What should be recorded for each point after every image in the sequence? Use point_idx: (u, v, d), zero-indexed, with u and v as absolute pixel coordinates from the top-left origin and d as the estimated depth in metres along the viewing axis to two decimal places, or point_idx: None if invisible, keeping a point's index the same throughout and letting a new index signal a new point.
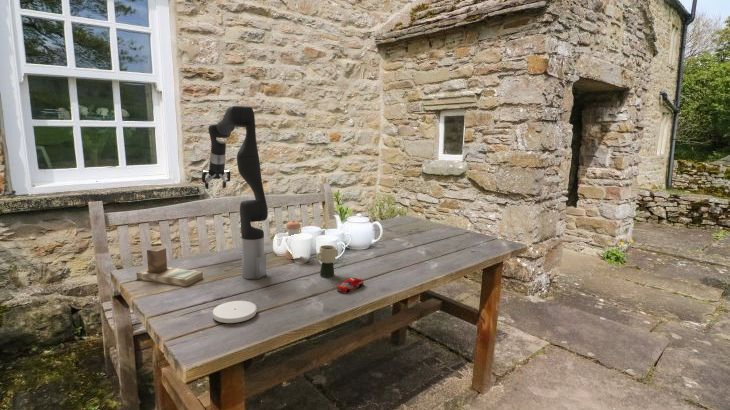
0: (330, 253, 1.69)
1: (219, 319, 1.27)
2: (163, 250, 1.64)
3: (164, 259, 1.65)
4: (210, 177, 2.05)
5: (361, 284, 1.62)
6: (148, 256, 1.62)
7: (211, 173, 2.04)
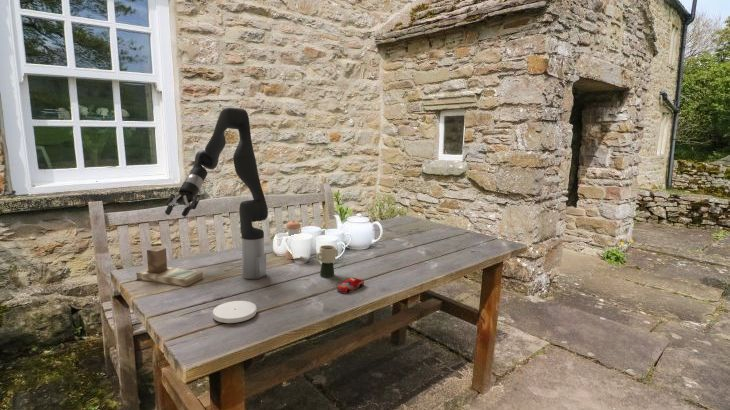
0: (330, 253, 1.69)
1: (219, 319, 1.27)
2: (163, 250, 1.64)
3: (164, 259, 1.65)
4: (174, 199, 1.76)
5: (361, 284, 1.62)
6: (148, 256, 1.62)
7: (178, 196, 1.77)
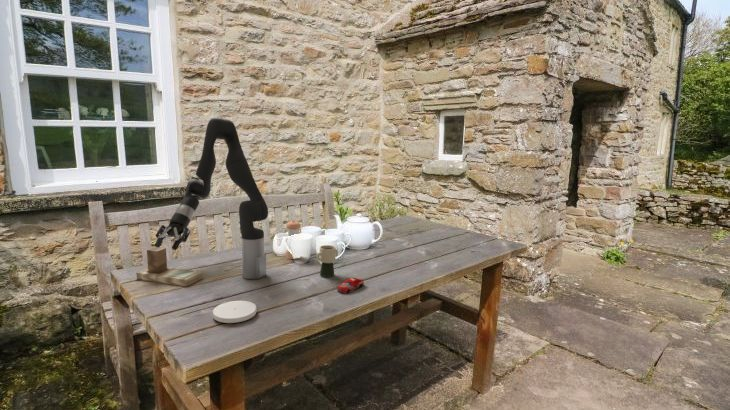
0: (330, 253, 1.69)
1: (219, 319, 1.27)
2: (163, 250, 1.64)
3: (164, 259, 1.65)
4: (164, 231, 1.72)
5: (361, 284, 1.62)
6: (148, 256, 1.62)
7: (168, 227, 1.73)
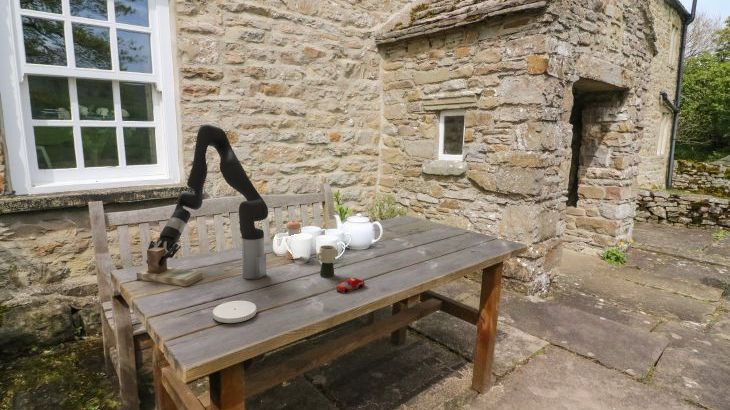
0: (330, 253, 1.69)
1: (219, 319, 1.27)
2: (163, 250, 1.64)
3: None
4: (155, 246, 1.66)
5: (361, 285, 1.61)
6: (148, 256, 1.62)
7: (158, 242, 1.68)
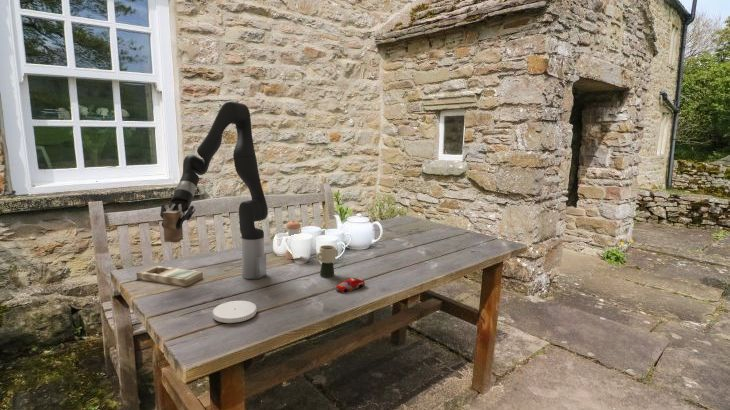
0: (330, 253, 1.69)
1: (219, 319, 1.27)
2: (179, 212, 1.59)
3: None
4: None
5: (361, 285, 1.61)
6: (164, 219, 1.56)
7: (170, 206, 1.62)
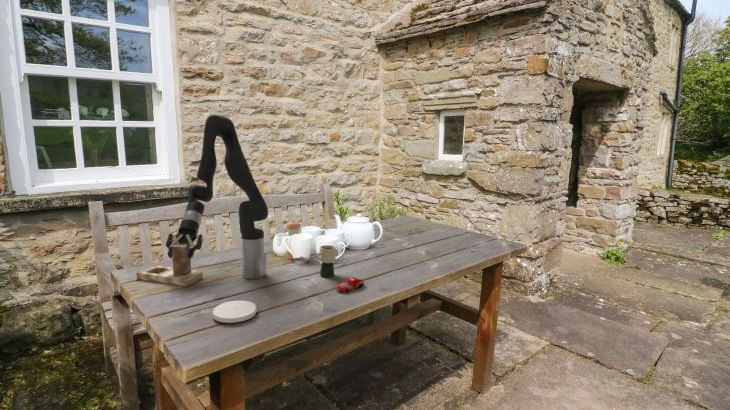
0: (330, 253, 1.69)
1: (219, 319, 1.27)
2: (188, 246, 1.61)
3: None
4: None
5: (361, 284, 1.61)
6: (174, 253, 1.58)
7: (178, 235, 1.64)
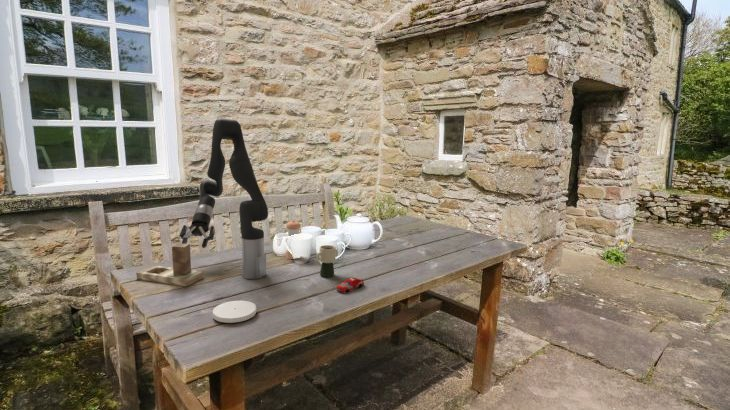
0: (330, 253, 1.69)
1: (219, 319, 1.27)
2: (188, 246, 1.61)
3: (189, 255, 1.62)
4: (189, 230, 1.75)
5: (361, 284, 1.61)
6: (174, 253, 1.58)
7: (191, 227, 1.77)
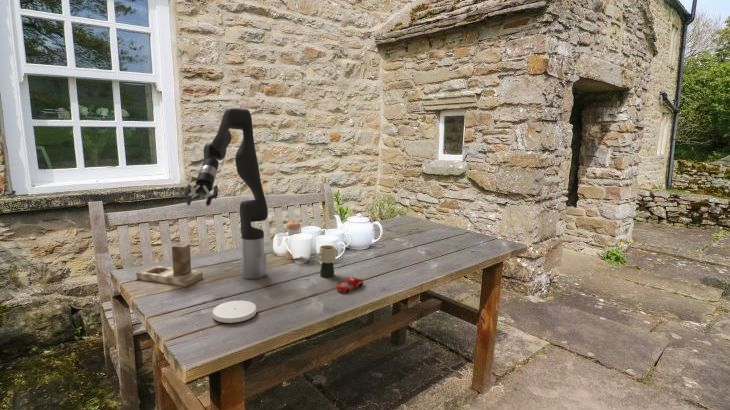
0: (330, 253, 1.69)
1: (219, 319, 1.27)
2: (188, 246, 1.61)
3: (189, 255, 1.62)
4: None
5: (361, 284, 1.62)
6: (174, 253, 1.58)
7: (196, 186, 1.81)
